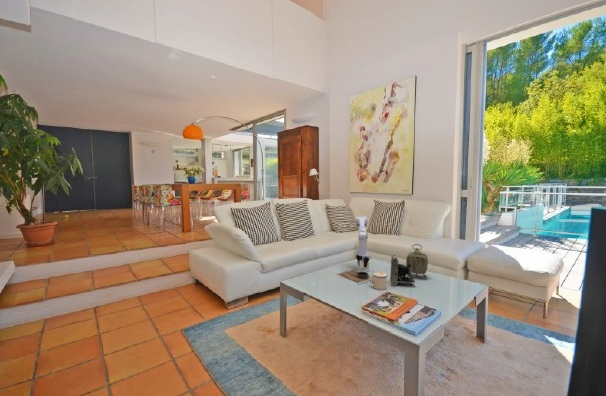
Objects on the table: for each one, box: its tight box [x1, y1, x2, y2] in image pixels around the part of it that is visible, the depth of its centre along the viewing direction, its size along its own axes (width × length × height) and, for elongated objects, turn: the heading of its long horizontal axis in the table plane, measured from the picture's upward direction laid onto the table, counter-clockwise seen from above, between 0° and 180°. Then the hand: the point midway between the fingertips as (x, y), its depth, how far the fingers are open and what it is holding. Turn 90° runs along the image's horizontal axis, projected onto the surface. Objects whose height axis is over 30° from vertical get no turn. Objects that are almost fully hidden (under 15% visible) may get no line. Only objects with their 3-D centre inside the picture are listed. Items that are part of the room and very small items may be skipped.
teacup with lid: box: [368, 269, 388, 291], centre depth 189 cm, size 12×9×12 cm
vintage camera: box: [389, 254, 416, 287], centre depth 193 cm, size 10×15×20 cm, turn 78°
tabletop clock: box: [405, 243, 429, 279], centre depth 207 cm, size 14×9×25 cm, turn 62°
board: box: [336, 269, 373, 286], centre depth 207 cm, size 18×22×2 cm
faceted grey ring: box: [357, 271, 369, 279], centre depth 205 cm, size 8×8×2 cm
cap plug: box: [359, 259, 366, 272], centre depth 204 cm, size 5×5×7 cm
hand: (362, 266), depth 204 cm, fingers closed on cap plug, 5 cm apart
